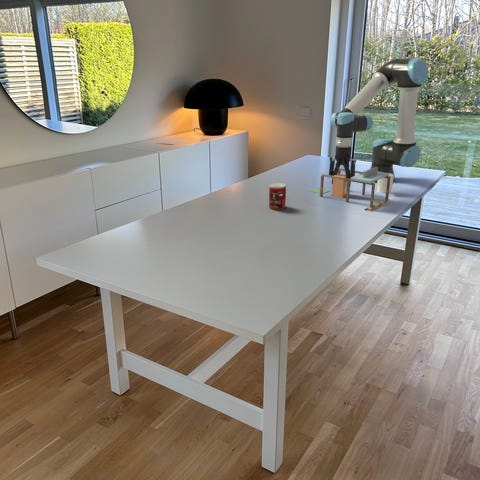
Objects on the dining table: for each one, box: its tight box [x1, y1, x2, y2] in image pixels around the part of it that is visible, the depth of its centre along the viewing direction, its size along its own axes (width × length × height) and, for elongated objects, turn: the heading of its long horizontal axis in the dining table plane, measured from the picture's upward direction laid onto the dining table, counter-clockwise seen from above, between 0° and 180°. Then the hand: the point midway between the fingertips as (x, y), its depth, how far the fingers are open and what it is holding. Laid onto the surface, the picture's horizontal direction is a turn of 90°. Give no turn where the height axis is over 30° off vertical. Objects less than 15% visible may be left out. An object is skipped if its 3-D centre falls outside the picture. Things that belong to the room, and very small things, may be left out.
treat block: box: [331, 173, 346, 199], centre depth 233 cm, size 6×6×10 cm
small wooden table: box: [319, 168, 391, 212], centre depth 232 cm, size 20×38×13 cm, turn 49°
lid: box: [351, 167, 389, 183], centre depth 221 cm, size 19×10×4 cm, turn 139°
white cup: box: [376, 173, 395, 194], centre depth 240 cm, size 8×8×10 cm
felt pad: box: [308, 187, 332, 195], centre depth 243 cm, size 8×8×1 cm
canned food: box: [268, 182, 287, 211], centre depth 220 cm, size 8×8×11 cm
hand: (340, 192), depth 235 cm, fingers closed on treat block, 6 cm apart
